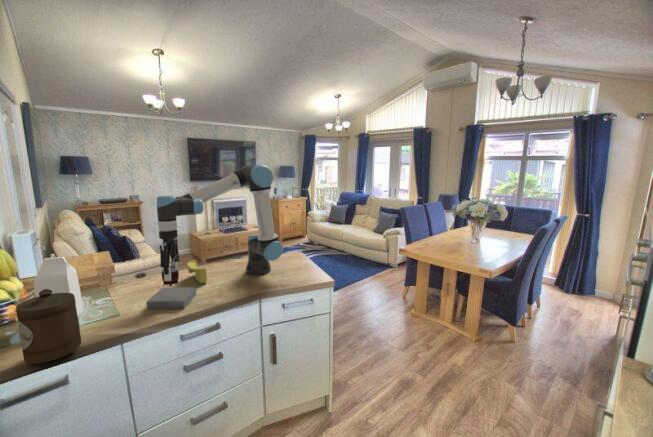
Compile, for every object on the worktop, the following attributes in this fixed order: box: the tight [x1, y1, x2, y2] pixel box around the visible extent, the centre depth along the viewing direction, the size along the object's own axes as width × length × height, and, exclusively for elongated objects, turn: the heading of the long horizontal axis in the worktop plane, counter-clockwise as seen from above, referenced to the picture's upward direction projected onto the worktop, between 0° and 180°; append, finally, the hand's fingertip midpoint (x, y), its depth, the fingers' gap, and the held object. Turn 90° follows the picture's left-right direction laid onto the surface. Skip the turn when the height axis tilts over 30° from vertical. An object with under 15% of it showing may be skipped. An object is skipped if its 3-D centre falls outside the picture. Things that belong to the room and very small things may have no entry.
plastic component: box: [186, 259, 208, 285], centre depth 171 cm, size 20×7×10 cm, turn 37°
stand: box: [146, 286, 197, 311], centre depth 143 cm, size 16×16×4 cm
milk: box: [33, 256, 85, 317], centre depth 125 cm, size 12×12×26 cm
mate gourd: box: [161, 253, 180, 287], centre depth 141 cm, size 8×8×15 cm
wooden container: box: [15, 289, 82, 364], centre depth 103 cm, size 15×15×22 cm
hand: (171, 277), depth 142 cm, fingers closed on mate gourd, 7 cm apart
